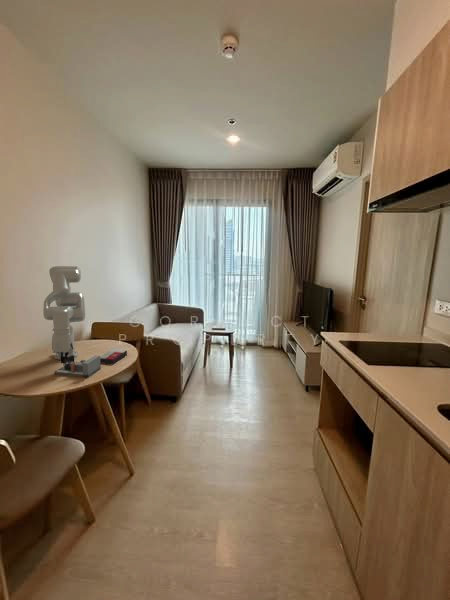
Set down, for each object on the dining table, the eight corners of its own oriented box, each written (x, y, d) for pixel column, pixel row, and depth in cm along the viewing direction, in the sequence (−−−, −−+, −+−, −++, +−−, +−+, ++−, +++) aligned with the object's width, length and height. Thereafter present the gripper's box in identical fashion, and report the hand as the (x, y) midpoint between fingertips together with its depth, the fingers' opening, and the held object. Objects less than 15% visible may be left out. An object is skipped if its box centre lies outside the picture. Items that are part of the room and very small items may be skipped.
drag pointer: (71, 372, 140) (70, 363, 139) (73, 371, 141) (72, 362, 140) (73, 372, 139) (72, 363, 139) (75, 371, 141) (74, 362, 140)
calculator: (96, 357, 158) (111, 347, 172) (97, 363, 158) (112, 353, 173) (113, 359, 156) (126, 349, 170) (113, 365, 156) (127, 355, 171)
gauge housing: (54, 374, 141) (53, 360, 140) (69, 365, 152) (68, 353, 151) (88, 377, 139) (87, 363, 137) (100, 369, 149) (100, 355, 148)
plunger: (61, 371, 140) (60, 360, 139) (72, 365, 149) (71, 355, 148) (75, 372, 139) (74, 362, 138) (85, 366, 148) (85, 356, 147)
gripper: (44, 332, 140) (47, 364, 143) (69, 334, 138) (71, 366, 141) (55, 328, 147) (57, 358, 150) (79, 330, 145) (81, 361, 148)
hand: (64, 362), depth 146 cm, fingers closed
